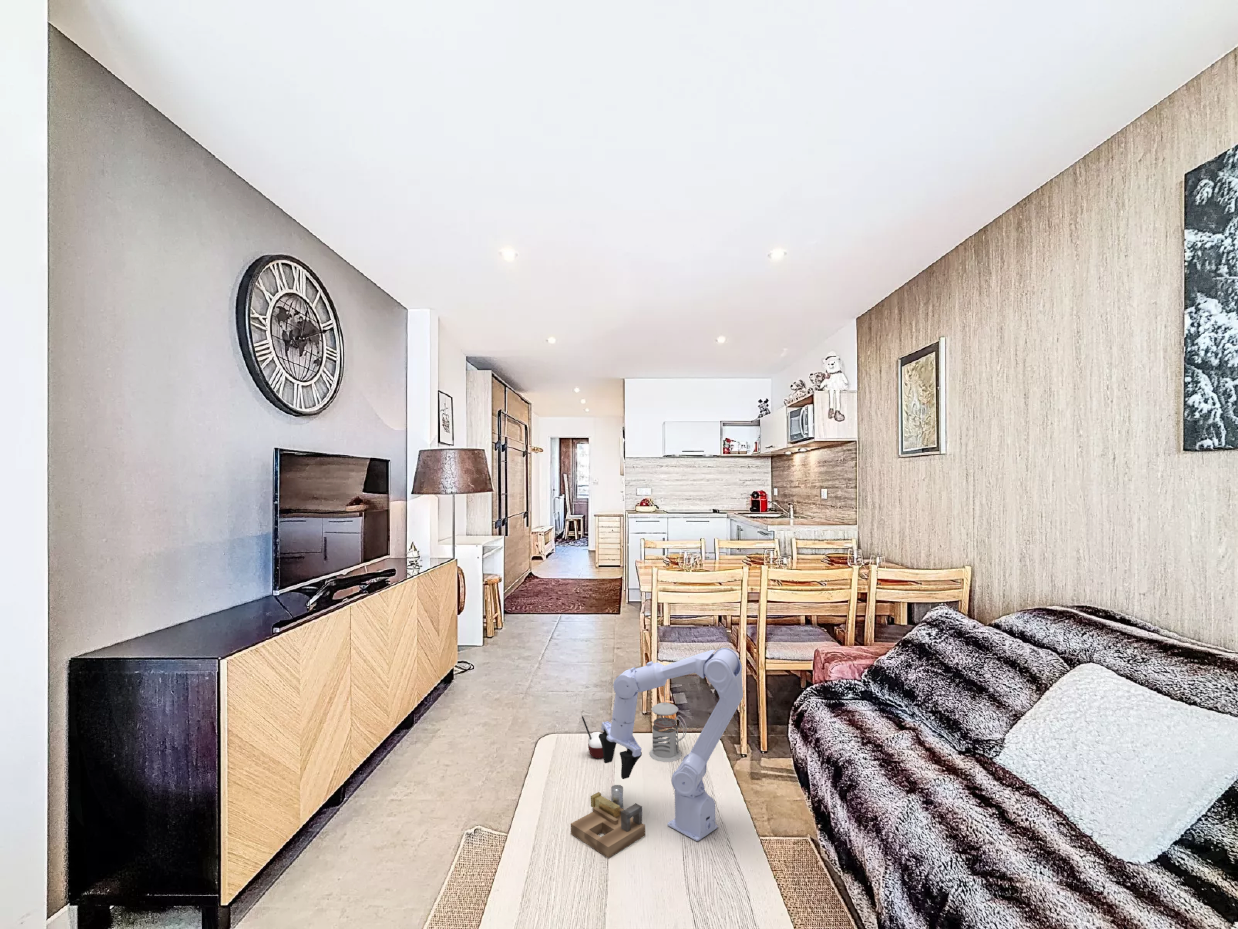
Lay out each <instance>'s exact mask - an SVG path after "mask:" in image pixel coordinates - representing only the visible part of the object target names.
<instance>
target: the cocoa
mask: <svg viewBox="0 0 1238 929" xmlns="http://www.w3.org/2000/svg"><path fill="white" fill-rule="evenodd" d="M581 719H582V722H583V725H584V727H585V729H586V732H587V735H588V739H587V743H588V744H587V748H588V751H589V754H590V756H591V757H592V758H595V759H602V758H603V759H604V757H603V749H602V745H601V741H600V739H599V734H601V733H602V732H600V731H594V732H592V733H590V731H589V729H588V725H587V722H586V719H585V718H584V716H581Z"/></svg>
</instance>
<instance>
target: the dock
mask: <svg viewBox="0 0 1238 929" xmlns="http://www.w3.org/2000/svg"><path fill="white" fill-rule="evenodd" d="M601 834H603V836H600V835H601ZM570 835H572V836H574V837H575V838H577V839H578V841H581V842H582V843H584V844H585V845H587V846H588V847H590V848H592V849H593V850H595V851H596V852H598V853H599V854H601V855H603V857H606V858H607V859H609V858H611V857H613V856H615V855H616V854H618V853H620V852H621V851H623V850H625V849H626V848H627V847H629V846H630V845H632V844H634V843H636V842H638V841H639V840H641V839H642V838H644V837H645V836H646V824H644V823H643V806H642V805H640V804H638V803H633V804H632V805H630V806H628V807H627V808H625V809H624V808H623V809H622V808H620V816H618V817H616V818H615V817H613V816H611V815H609V814H608V813H606V812H604V811H602V810H601V809H599V808H597V807H594V808H593V807H592V812H590V813H587V814H586V815H584V816H583V817H581V818H578V819H576V820H574V821H573V822H571V823H570Z"/></svg>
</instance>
